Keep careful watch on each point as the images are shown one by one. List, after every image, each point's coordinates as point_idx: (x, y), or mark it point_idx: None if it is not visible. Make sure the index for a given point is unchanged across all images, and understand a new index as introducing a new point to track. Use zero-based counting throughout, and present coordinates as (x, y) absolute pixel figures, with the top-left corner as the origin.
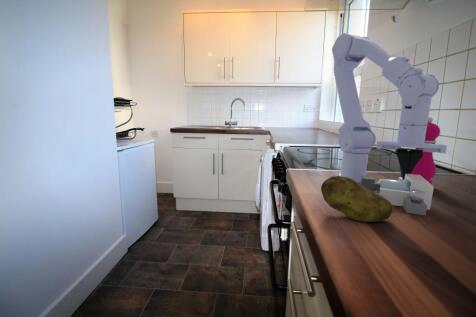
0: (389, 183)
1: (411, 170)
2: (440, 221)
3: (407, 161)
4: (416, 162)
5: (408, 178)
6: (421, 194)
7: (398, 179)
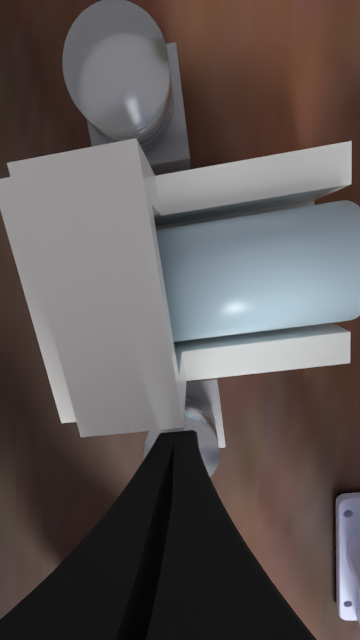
0: (300, 224)
1: (136, 480)
2: (41, 49)
3: (173, 561)
4: (70, 561)
5: (166, 307)
6: (88, 13)
7: (217, 439)
